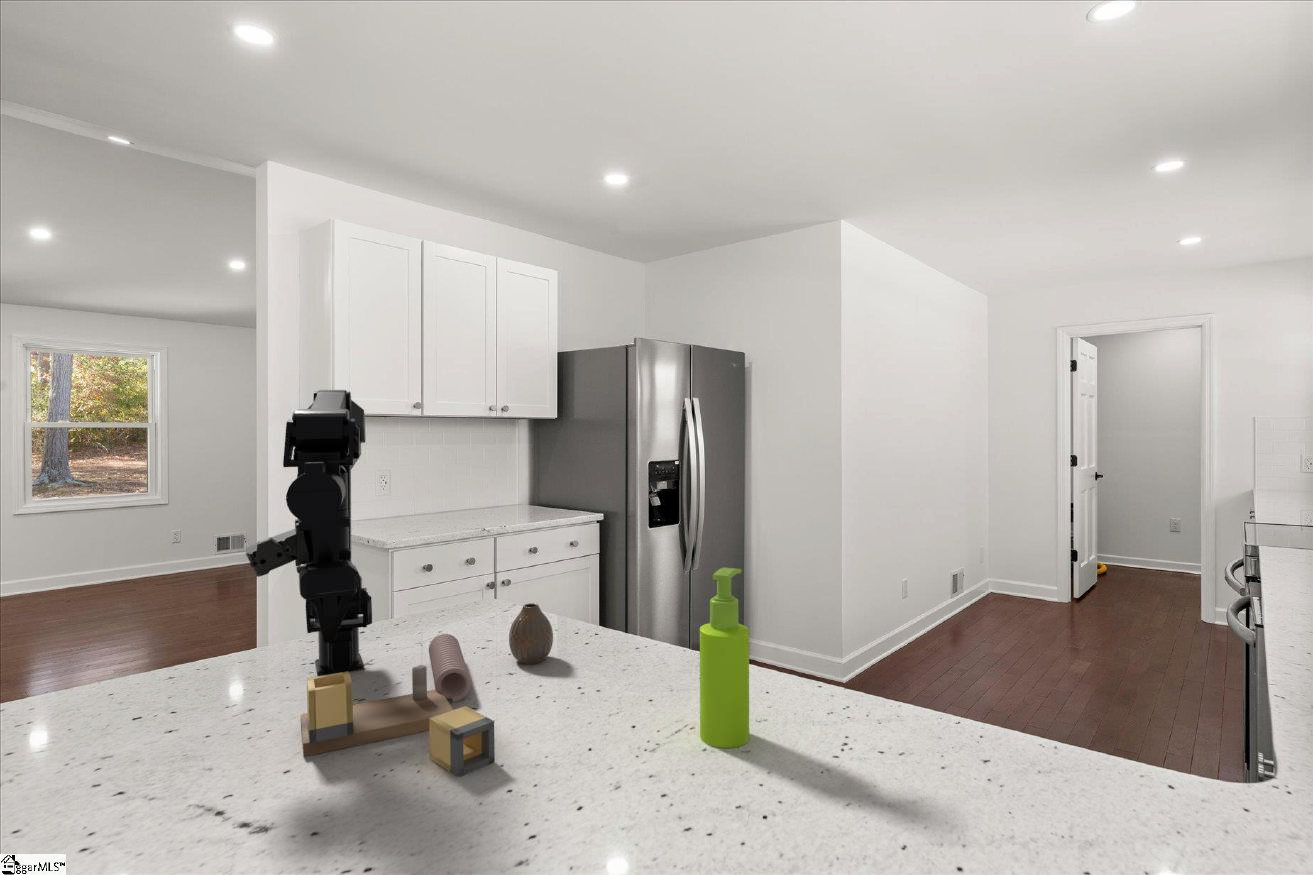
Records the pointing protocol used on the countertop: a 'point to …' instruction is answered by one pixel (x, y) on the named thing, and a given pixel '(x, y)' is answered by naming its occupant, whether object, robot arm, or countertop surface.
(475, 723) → the tan angular part
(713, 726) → the soap dispenser
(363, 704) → the pin board
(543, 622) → the vase
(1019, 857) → the countertop surface
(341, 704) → the loose sleeve
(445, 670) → the coil
